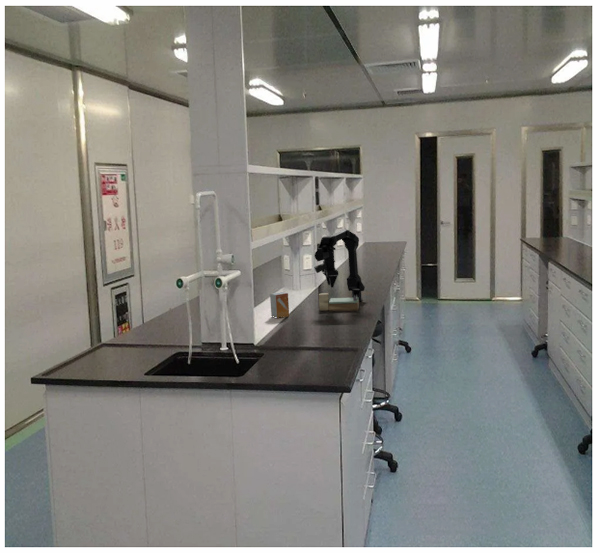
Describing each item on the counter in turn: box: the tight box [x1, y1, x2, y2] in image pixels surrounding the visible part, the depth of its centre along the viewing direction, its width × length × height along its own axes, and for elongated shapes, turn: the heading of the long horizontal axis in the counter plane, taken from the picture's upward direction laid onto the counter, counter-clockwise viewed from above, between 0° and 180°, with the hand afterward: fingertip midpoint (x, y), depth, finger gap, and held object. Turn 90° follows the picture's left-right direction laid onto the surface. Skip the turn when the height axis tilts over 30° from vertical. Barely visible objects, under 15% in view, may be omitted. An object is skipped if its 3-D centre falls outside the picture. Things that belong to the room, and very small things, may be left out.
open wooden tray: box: [328, 300, 360, 312], centre depth 336 cm, size 12×16×4 cm
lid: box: [329, 295, 359, 304], centre depth 335 cm, size 12×16×3 cm
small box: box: [269, 291, 290, 319], centre depth 325 cm, size 8×6×13 cm
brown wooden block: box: [318, 292, 330, 311], centre depth 337 cm, size 4×5×9 cm
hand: (330, 286), depth 334 cm, fingers open, 9 cm apart
